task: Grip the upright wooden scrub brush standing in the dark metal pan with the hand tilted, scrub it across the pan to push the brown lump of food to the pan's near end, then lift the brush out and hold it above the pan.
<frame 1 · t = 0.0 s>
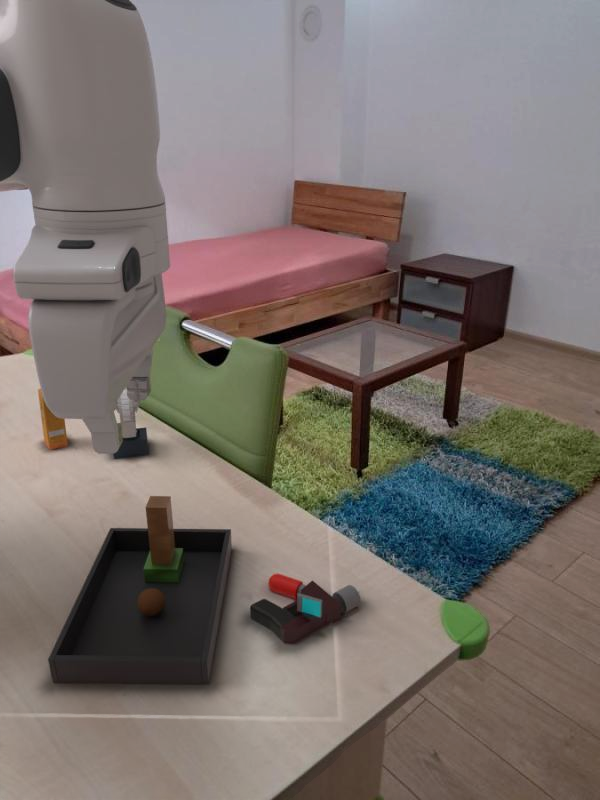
hand: (125, 420, 51), 29 cm above the table, tool pointing down, fingers open, 8 cm apart
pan: (154, 610, 71), on the table
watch: (131, 452, 105), on the table
dough lump: (151, 602, 70), point 2 cm above the table, touching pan
scrub brush: (165, 571, 77), point 1 cm above the table, touching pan
supplement box: (57, 445, 107), on the table
toy gun: (302, 608, 72), on the table
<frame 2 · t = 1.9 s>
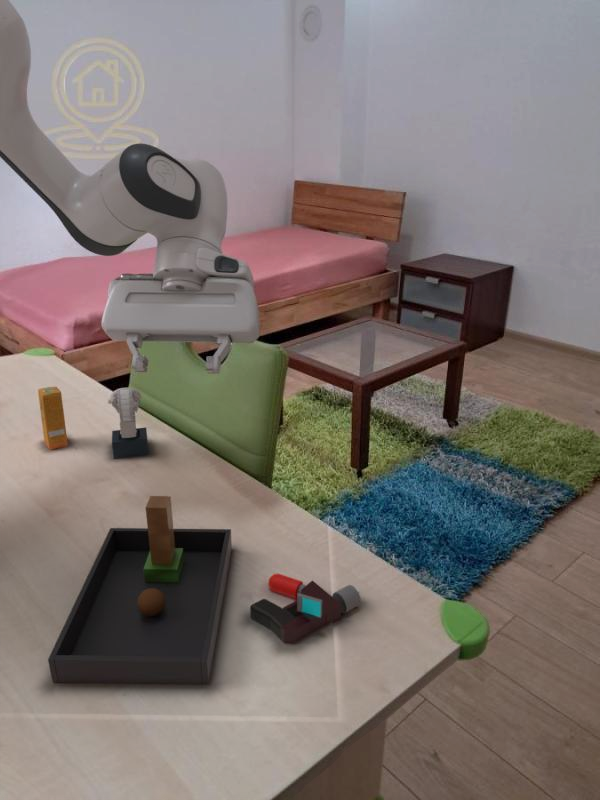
hand: (175, 371, 79), 22 cm above the table, tool tilted 45°, fingers open, 8 cm apart
nothing on the table moved.
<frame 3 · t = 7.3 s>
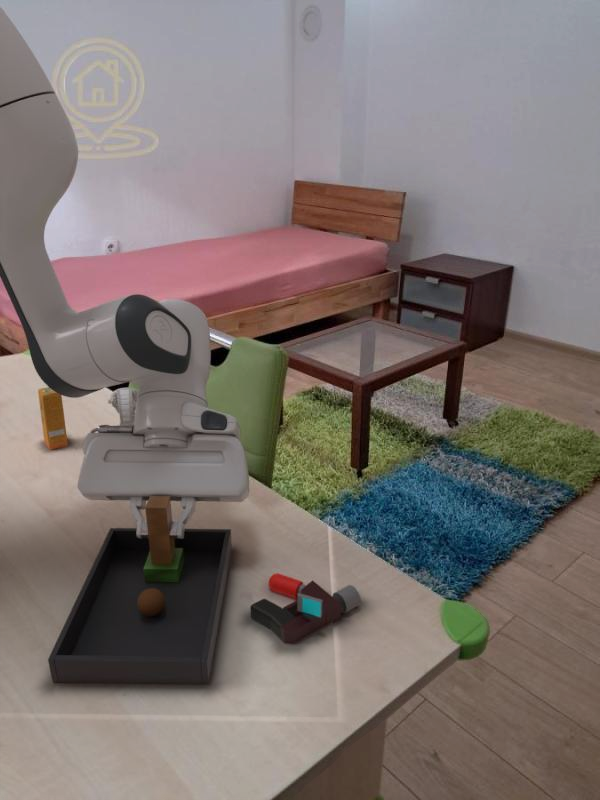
hand: (160, 538, 74), 6 cm above the table, tool tilted 45°, fingers closed on scrub brush, 2 cm apart
scrub brush: (165, 571, 77), point 1 cm above the table, touching gripper, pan
everything else where it was.
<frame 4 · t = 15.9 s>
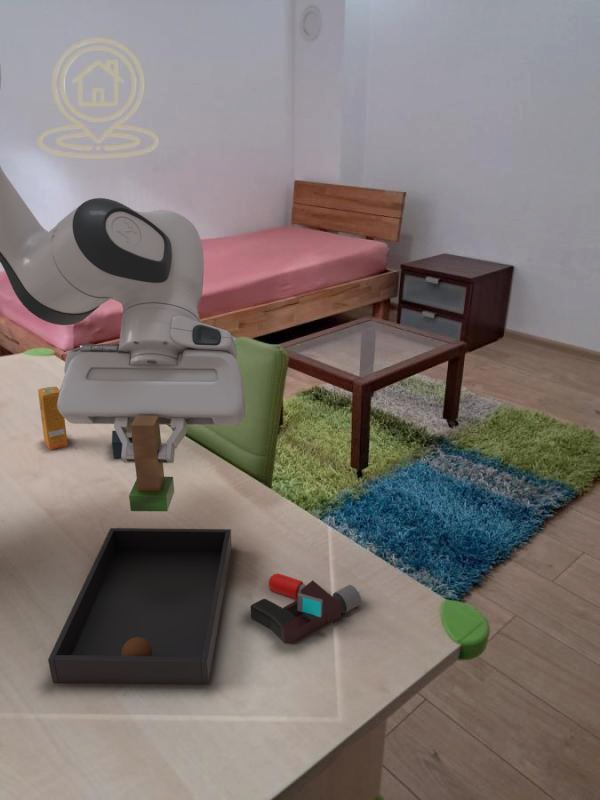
hand: (147, 461, 67), 17 cm above the table, tool tilted 45°, fingers closed on scrub brush, 2 cm apart
dough lump: (136, 653, 63), point 2 cm above the table, tilted 74°, touching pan
scrub brush: (153, 501, 70), point 12 cm above the table, touching gripper
everything else where it was.
at the end: dough lump inside the target area in the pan (1.0 cm from its centre), point 2.1 cm above the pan's base; the gripper is holding scrub brush; scrub brush point 12.0 cm above the table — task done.
